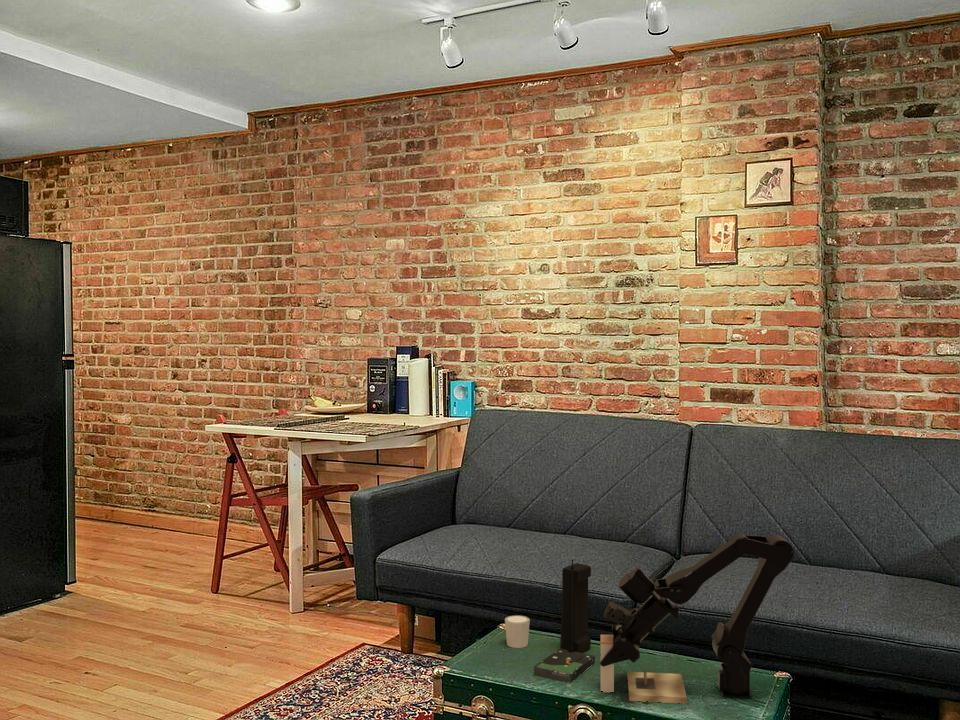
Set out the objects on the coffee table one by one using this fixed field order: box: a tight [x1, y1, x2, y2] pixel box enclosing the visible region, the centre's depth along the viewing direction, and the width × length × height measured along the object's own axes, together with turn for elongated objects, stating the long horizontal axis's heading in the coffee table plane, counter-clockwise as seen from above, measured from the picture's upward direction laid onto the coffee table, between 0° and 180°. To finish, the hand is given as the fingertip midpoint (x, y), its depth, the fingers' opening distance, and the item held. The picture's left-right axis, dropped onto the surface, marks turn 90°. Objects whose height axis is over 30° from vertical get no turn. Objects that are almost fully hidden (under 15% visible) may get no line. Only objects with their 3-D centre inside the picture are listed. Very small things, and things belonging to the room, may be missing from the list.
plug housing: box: [600, 634, 615, 693], centre depth 212 cm, size 3×5×12 cm, turn 173°
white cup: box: [504, 615, 531, 649], centre depth 242 cm, size 7×7×7 cm
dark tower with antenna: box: [559, 559, 592, 653], centre depth 238 cm, size 8×6×25 cm
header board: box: [626, 668, 688, 705], centre depth 211 cm, size 13×14×4 cm
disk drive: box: [533, 648, 596, 684], centre depth 224 cm, size 10×3×15 cm
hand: (601, 660), depth 212 cm, fingers closed on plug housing, 5 cm apart
